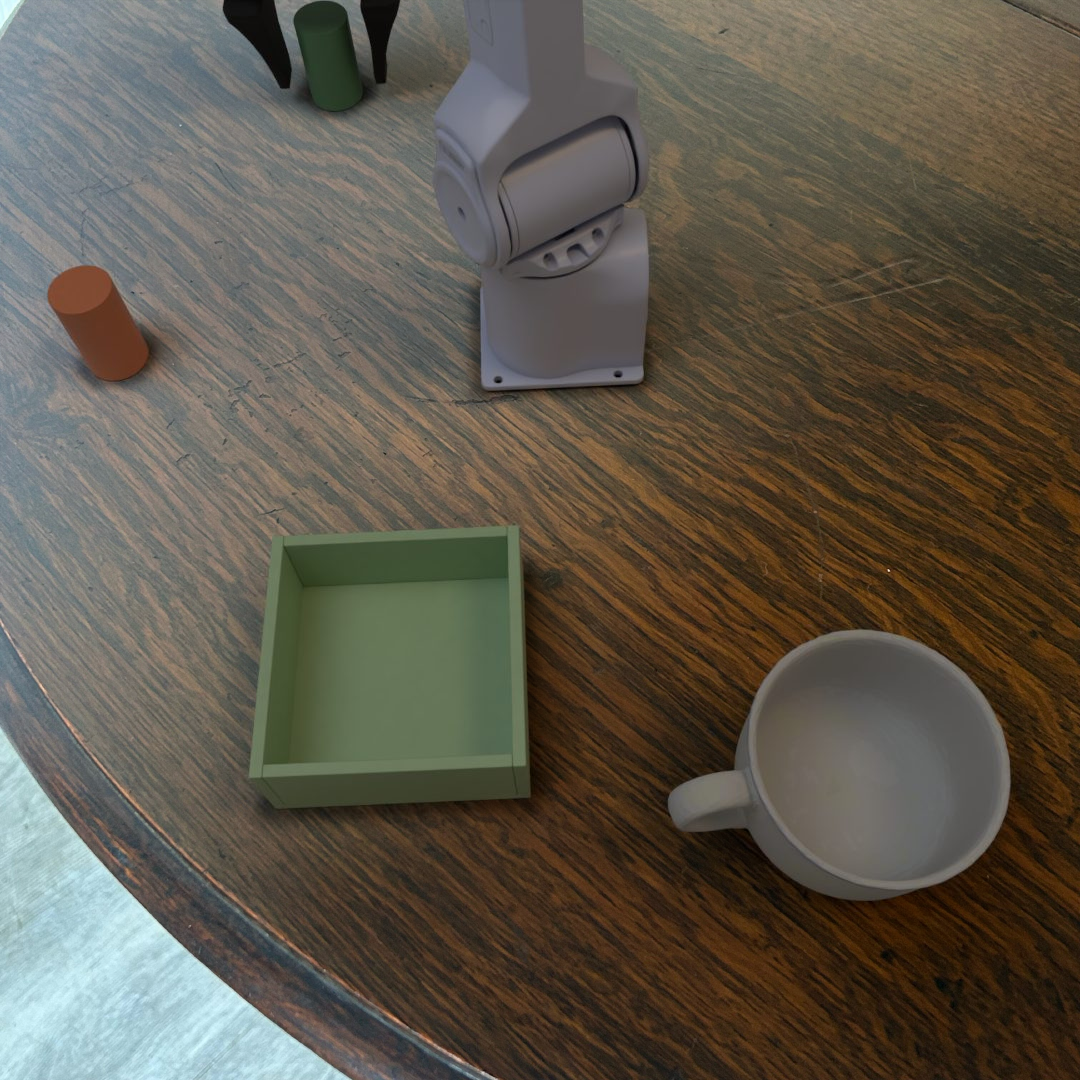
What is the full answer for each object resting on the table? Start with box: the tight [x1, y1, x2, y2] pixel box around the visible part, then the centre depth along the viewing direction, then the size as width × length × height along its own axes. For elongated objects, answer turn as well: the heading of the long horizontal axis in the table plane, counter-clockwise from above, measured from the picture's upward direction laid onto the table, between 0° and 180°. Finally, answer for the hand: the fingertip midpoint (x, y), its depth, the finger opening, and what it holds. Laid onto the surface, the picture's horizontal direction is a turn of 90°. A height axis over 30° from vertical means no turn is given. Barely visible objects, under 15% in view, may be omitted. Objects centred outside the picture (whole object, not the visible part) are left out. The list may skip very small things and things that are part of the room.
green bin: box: [248, 524, 532, 810], centre depth 52 cm, size 12×12×5 cm
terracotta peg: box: [46, 264, 150, 382], centre depth 63 cm, size 4×4×6 cm
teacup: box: [667, 628, 1012, 902], centre depth 47 cm, size 14×11×8 cm
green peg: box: [292, 0, 364, 112], centre depth 74 cm, size 4×4×6 cm
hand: (333, 77), depth 75 cm, fingers open, 6 cm apart
